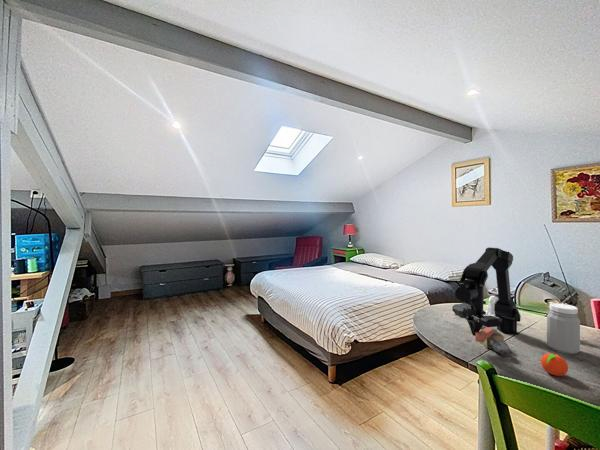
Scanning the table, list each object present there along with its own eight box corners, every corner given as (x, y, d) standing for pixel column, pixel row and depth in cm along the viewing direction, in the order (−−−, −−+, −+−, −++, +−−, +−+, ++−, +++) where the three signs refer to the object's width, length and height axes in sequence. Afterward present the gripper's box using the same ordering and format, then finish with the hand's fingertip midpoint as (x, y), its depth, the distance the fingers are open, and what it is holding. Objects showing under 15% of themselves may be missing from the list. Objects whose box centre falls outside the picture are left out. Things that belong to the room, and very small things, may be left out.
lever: (487, 329, 117) (487, 322, 117) (498, 332, 114) (498, 325, 114) (472, 340, 107) (472, 332, 107) (484, 343, 104) (484, 335, 104)
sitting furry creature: (477, 314, 151) (477, 293, 151) (491, 313, 152) (491, 292, 152) (491, 320, 142) (491, 298, 141) (506, 320, 143) (506, 297, 142)
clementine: (559, 383, 88) (560, 361, 88) (534, 372, 95) (534, 352, 94) (572, 377, 91) (572, 356, 91) (547, 367, 98) (547, 347, 98)
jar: (541, 346, 113) (542, 304, 113) (554, 342, 117) (554, 301, 117) (572, 357, 104) (573, 311, 104) (584, 352, 108) (585, 307, 108)
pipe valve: (472, 334, 125) (472, 323, 125) (487, 335, 124) (487, 324, 124) (495, 356, 105) (495, 342, 105) (513, 358, 104) (513, 344, 104)
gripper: (441, 292, 117) (441, 327, 118) (475, 306, 99) (475, 348, 99) (464, 291, 119) (463, 325, 120) (502, 304, 101) (501, 345, 101)
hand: (474, 335), depth 110 cm, fingers closed
